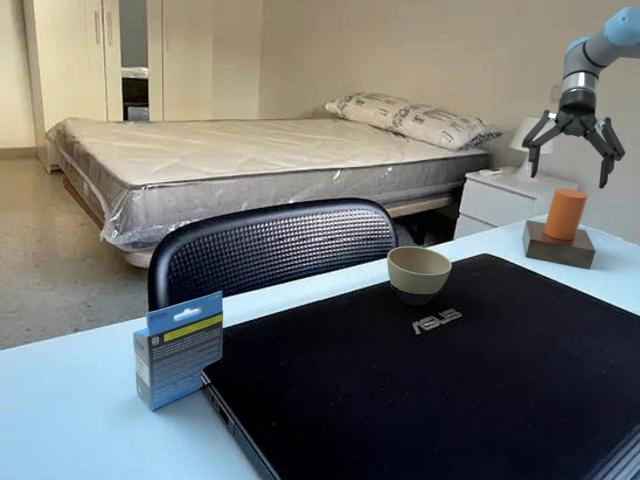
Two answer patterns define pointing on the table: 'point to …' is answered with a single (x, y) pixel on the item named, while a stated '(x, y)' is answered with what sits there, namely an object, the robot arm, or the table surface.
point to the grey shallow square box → (557, 246)
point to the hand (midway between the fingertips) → (567, 180)
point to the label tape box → (177, 349)
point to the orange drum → (565, 213)
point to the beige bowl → (417, 269)
